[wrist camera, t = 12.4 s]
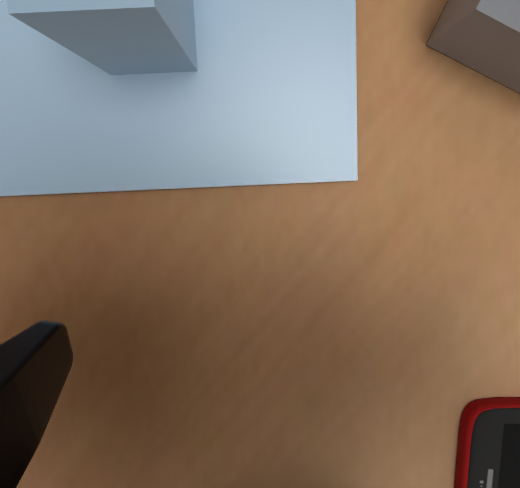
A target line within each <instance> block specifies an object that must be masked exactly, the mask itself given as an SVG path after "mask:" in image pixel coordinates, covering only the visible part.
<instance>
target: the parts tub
mask: <svg viewBox="0 0 520 488" xmlns="http://www.w3.org/2000/svg"><path fill="white" fill-rule="evenodd" d="M426 45H427V46H429V47H431V48H433V49H435V50H437V51H439V52H440V53H442V54H444V55H446V56H448V57H450V58H452V59H454V60H456V61H458V62H460V63H462V64H464V65H466V66H468V67H470V68H471V69H473V70H475V71H477V72H479V73H481V74H483V75H485V76H487V77H489V78H491V79H493V80H495V81H497V82H499V83H501V84H502V85H504V86H506V87H508V88H510V89H512V90H514V91H516V92H518V93H520V0H448V2H447V4H446V6H445V8H444V10H443V12H442V14H441V16H440V18H439V20H438V22H437V24H436V26H435V28H434V30H433V32H432V34H431V36H430V38H429V40H428V42H427V44H426Z"/></svg>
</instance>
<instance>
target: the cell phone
mask: <svg viewBox="0 0 520 488" xmlns="http://www.w3.org/2000/svg"><path fill="white" fill-rule="evenodd" d="M454 488H520V397H493V398H484V399H476V400H474V401H472V402H470V403H469V404H468V405H467V406H466V407H465V409H464V410H463V412H462V416H461V420H460V426H459V435H458V448H457V460H456V472H455V484H454Z"/></svg>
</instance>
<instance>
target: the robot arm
mask: <svg viewBox="0 0 520 488" xmlns="http://www.w3.org/2000/svg"><path fill="white" fill-rule="evenodd" d="M72 362H73V352H72V348H71V344H70V340H69V336H68V332H67V329H66V327H65V325H64V324H62V323H58V322H52V321H40V322H38V323H36V324H34V325H32V326H31V327H29V328H27V329H26V330H24V331H22V332H21V333H19V334H17V335H16V336H14V337H12V338H11V339H9V340H7V341H6V342H4V343H2V344H1V345H0V488H16V487H17V485H18V483H19V481H20V479H21V477H22V476H23V474H24V472H25V470H26V468H27V466H28V464H29V463H30V461H31V459H32V457H33V455H34V453H35V451H36V449H37V447H38V445H39V443H40V441H41V439H42V436H43V434H44V432H45V429H46V427H47V425H48V422H49V420H50V417H51V415H52V412H53V410H54V407H55V405H56V403H57V400H58V398H59V395H60V393H61V390H62V388H63V386H64V383H65V381H66V378H67V376H68V373H69V371H70V369H71V366H72Z"/></svg>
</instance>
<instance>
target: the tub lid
mask: <svg viewBox="0 0 520 488" xmlns="http://www.w3.org/2000/svg"><path fill="white" fill-rule="evenodd" d="M354 180H358V178H357V87H356V0H0V196H18V195H40V194H63V193H85V192H108V191H130V190H152V189H175V188H197V187H220V186H242V185H264V184H287V183H309V182H332V181H354Z"/></svg>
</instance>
